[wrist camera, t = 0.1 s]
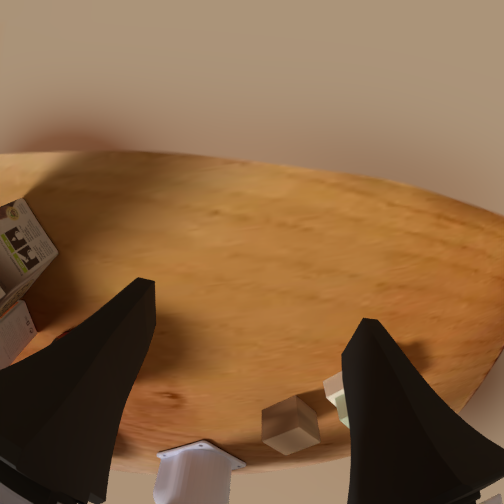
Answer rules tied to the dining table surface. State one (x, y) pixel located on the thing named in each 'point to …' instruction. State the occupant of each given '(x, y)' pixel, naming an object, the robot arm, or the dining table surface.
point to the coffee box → (21, 252)
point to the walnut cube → (290, 426)
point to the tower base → (334, 387)
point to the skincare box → (15, 332)
